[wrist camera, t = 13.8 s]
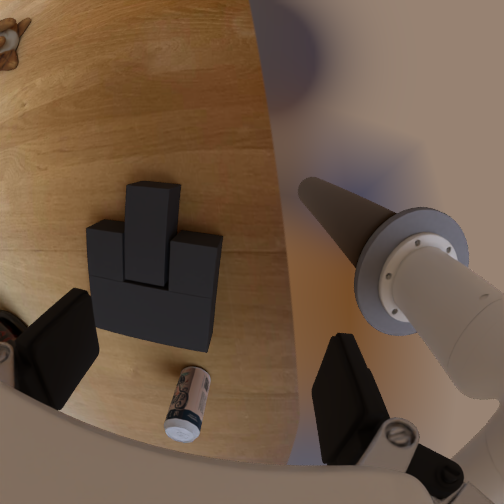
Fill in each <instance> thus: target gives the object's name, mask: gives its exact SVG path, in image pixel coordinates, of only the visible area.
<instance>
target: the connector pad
mask: <svg viewBox="0 0 504 504" xmlns="http://www.w3.org/2000/svg"><path fill="white" fill-rule="evenodd" d="M180 190H181V185H180V184H171V183H162V182H152V181H140V182H136V183H132V184H128V185H127V186H126V203H125V240H124V251H125V279H128V280H133V281H138V282H143V283H148V284H153V285H158V286H164V285H165V284H166V283H167V281H168V280H169V261H170V242H171V240H172V239H173V238H174V237H175V236H176V235H177V223H178V211H179V200H180Z"/></svg>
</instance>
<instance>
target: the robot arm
mask: <svg viewBox="0 0 504 504" xmlns="http://www.w3.org/2000/svg"><path fill="white" fill-rule="evenodd" d="M379 297H380V301H381V303H382V305H383V307H384V308H385V310H386V311H387V313H388V314H389V315H390V316H391V317H393V318H394V319H396V320H399V321H402V322H410V323H411V325H412V326H413V327H414V329H415V330H416V331H417V333H418V334H419V335H420V337H421V338H422V339H423V341H424V342H425V343H426V345H427V346H428V348H429V349H430V350H431V352H432V353H433V355H434V356H435V357H436V359H437V360H438V362H439V363H440V365H441V366H442V367H443V369H444V370H445V372H446V373H447V375H448V376H449V378H450V379H451V380H452V382H453V383H454V385H455V386H456V388H457V389H458V390H459V391H460V392H461V393H462V394H464V395H466V396H468V397H470V398H473V399H498V400H499V402H500V405H499V408H498V410H497V411H496V412H495V414H494V415H493V416H492V417H491V419H490V420H489V421H488V423H487V424H486V425H485V426H484V427H483V428H482V429H481V430H480V431H479V433H477V434H476V435H475V437H473V439H471V441H469V443H467V444H466V445H465V446H464V447H463V448H462V449H461V450H460V451H459V452H458V453H457V454H456V455H455V456H454V457H453V458H451V459H448V458H446V457H444V456H442V455H440V454H438V453H436V452H434V451H432V450H431V449H429V448H427V447H425V446H423V445H421V444H419V438H420V436H419V432H418V430H417V428H416V427H415V426H414V425H413V424H412V423H411V422H409V421H408V420H406V419H403V418H390V417H389V414H388V412H387V409H386V407H385V404H384V402H383V399H382V397H381V394H380V392H379V389H378V387H377V384H376V382H375V380H374V378H373V375H372V373H371V371H370V369H368V368H367V365H366V363H365V361H364V358H363V356H362V354H361V352H360V349H359V347H358V345H357V343H356V340H355V338H354V336H353V334H346V333H337V334H336V336H332V337H331V339H330V342H329V345H328V347H327V350H326V353H325V356H324V358H323V361H322V364H321V366H320V369H319V371H318V374H317V377H316V379H315V382H314V384H313V387H312V399H313V404H314V411H315V417H316V423H317V430H318V436H319V443H320V449H321V456H322V461H323V463H324V464H326V463H327V465H326V466H297V465H296V466H295V465H275V464H260V463H249V462H239V461H231V460H223V459H217V458H210V457H205V456H199V455H194V454H189V453H184V452H179V451H174V450H170V449H166V448H162V447H158V446H154V445H150V444H147V443H143V442H140V441H136V440H133V439H130V438H127V437H123V436H120V435H117V434H115V433H112V432H109V431H106V430H103V429H100V428H98V427H95V426H93V425H90V424H87V423H85V422H83V421H80V420H78V419H75V418H73V417H71V416H68V415H66V414H64V413H62V412H60V411H58V410H61V409H62V408H63V406H64V405H65V403H66V402H67V400H68V399H69V397H70V396H71V394H72V393H73V391H74V390H75V388H76V387H77V385H78V384H79V382H80V381H81V379H82V378H83V377H84V375H85V374H86V372H87V371H88V369H89V368H90V366H91V365H92V364H93V362H94V361H95V359H96V358H97V356H98V354H99V343H98V338H97V332H96V326H95V320H94V313H93V306H92V298H91V296H90V295H89V294H88V292H87V291H86V290H82V289H78V288H73V289H72V290H70V291H69V292H68V293H67V294H66V295H64V296H63V297H62V298H61V299H60V300H59V301H57V302H56V303H55V304H54V305H53V306H52V307H50V308H49V309H48V310H47V311H46V312H45V313H44V314H43V315H41V316H40V317H39V318H38V319H37V320H36V321H35V322H34V323H33V324H31V325H30V326H29V327H28V328H27V329H26V330H25V331H24V332H23V333H22V334H21V335H20V336H19V337H17V338H16V339H15V340H14V342H15V345H16V346H15V347H14V348H13V347H12V346H11V345H10V344H9V343H7V342H0V504H504V293H502V292H501V291H500V290H498V289H497V288H496V287H494V286H493V285H492V284H490V283H489V282H488V281H486V280H485V279H483V278H482V277H481V276H479V275H478V274H476V273H475V272H474V271H472V270H471V269H469V268H468V267H466V266H465V265H463V264H462V263H460V262H459V261H458V259H457V255H456V252H455V250H454V248H453V246H452V245H451V244H450V242H449V241H448V240H446V239H445V238H444V237H442V236H440V235H438V234H435V233H431V232H423V233H418V234H415V235H413V236H411V237H408V238H407V239H405V240H404V241H402V242H401V243H400V244H399V245H398V246H397V247H396V248H395V249H394V250H393V251H392V253H391V254H390V255H389V257H388V258H387V260H386V262H385V264H384V266H383V268H382V271H381V274H380V279H379Z"/></svg>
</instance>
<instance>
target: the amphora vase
mask: <svg viewBox="0 0 504 504" xmlns="http://www.w3.org/2000/svg"><path fill="white" fill-rule="evenodd" d="M26 329H27V327H26V326H25V325H24V324H23V323H22V322H21V321H20V320H19V319H18V318H17V317H16V316H14V315H13V314H11V313H9V312H8V311H4V310H0V342H7V343H9V344H10V345H11V346H12V347H13V348H14V347H15V346H16V345H15V342H14V340H15V339H16V338H17V337H19V336H20V335H21V334H22V333H23V332H24V331H25V330H26Z"/></svg>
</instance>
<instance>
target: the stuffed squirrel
mask: <svg viewBox="0 0 504 504" xmlns="http://www.w3.org/2000/svg"><path fill="white" fill-rule="evenodd" d="M15 22H16V20H15V19H13V18H6V19H3V20H1V21H0V70H12V69H14V68H16V67H17V64H18V60H17V56H16V52H15V50H16V48H17V46H18V43H19V37H20V36H21V35H22V34H23V32H24V31H25V29H26V28H27V26H28V25H29V24H30V22H31V19H30V18H26V19H24V20H22V21H21V22H19V23H18V24H17V23H15Z"/></svg>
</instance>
